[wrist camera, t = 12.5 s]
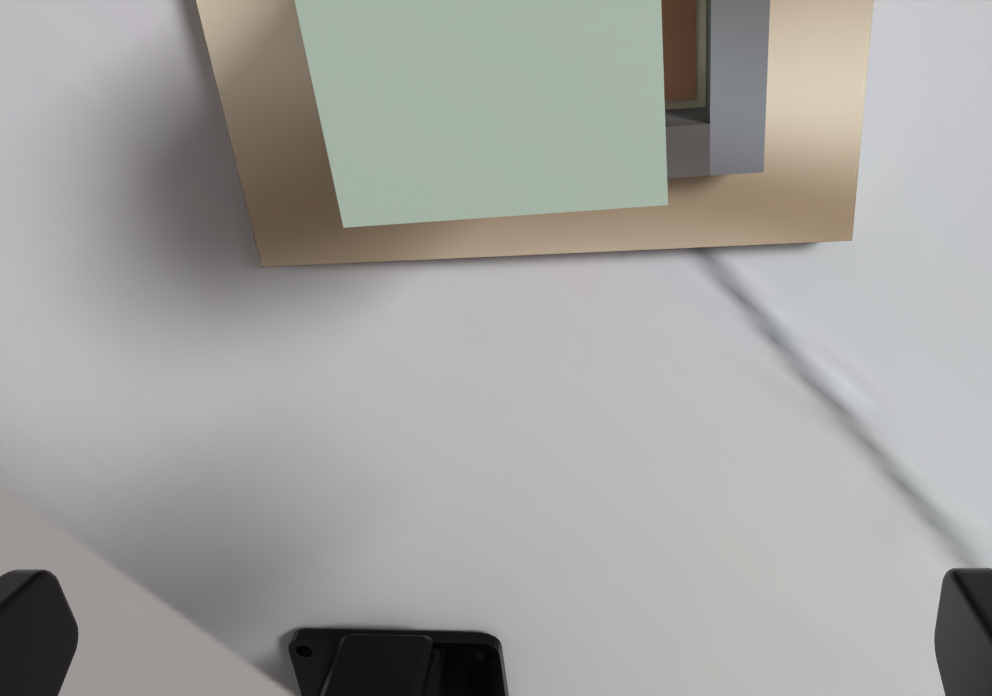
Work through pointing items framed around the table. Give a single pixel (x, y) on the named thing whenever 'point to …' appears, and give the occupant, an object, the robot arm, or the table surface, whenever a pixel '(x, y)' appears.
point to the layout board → (681, 224)
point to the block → (488, 106)
